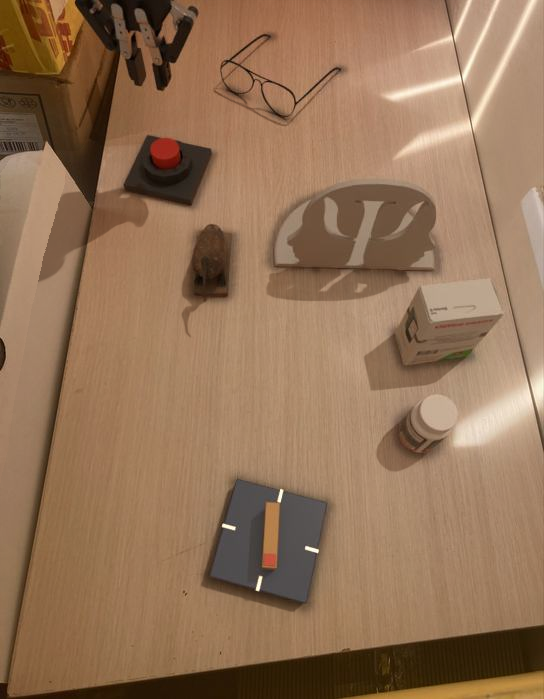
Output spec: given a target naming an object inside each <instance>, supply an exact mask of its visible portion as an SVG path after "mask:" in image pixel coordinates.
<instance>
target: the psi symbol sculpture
mask: <svg viewBox="0 0 544 699" xmlns="http://www.w3.org/2000/svg"><path fill="white" fill-rule="evenodd" d="M418 204H421V205H420V206H419V207H418V208H417V211H416V213H415V215H414V217H413V216H412V215H411V214H410V213H409V211H411V209H412V208H413V207H415V206H416V205H418ZM436 221H437V208H436V202H435V200H434V198H433V196H432V195H431V194H430V193H429V192H428V190H426V189H425V188H423V187H422V186H420V185H418V184H415V183H412V182H409V181H405V180H400V179H392V178H391V179H389V178H378V177H377V178H356V179H349V180H345V181H341V182H338V183H335V184H332V185H329V186H328V187H326V188H325V189H323V190H322V191H320V192H318V193H317V194H316V195H314V196H313V197H312V198H310V199H308V200H307V201H305V202H304V203H302V204H300V205H299V206H297V207H296V208H295V209H294V210H293V211H292V212H290V213H289V215H288V216H287V217H286V218H285V219H284V221H283V222H282V224H281V226H280V228H279V229H278V231H277V235H276V237H275V241H274V247H273V263H274V267H289V268H291V267H292V268H293V267H295V268H297V267H298V268H331V269H366V270H368V269H370V270H396V271H409V270H410V271H411V270H412V271H434V270H435V257H434V250H435V248H436V243H435V241H434V239H433V238H432V236H431V234H430V232H431V231H432V230H433V229H434V228H435V225H436V223H437V222H436Z"/></svg>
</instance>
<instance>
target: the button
mask: <svg viewBox="0 0 544 699" xmlns="http://www.w3.org/2000/svg"><path fill="white" fill-rule="evenodd" d="M160 138H161V139H158V140H156V141H154V142H153V143H152V145H151V147H150V152H151V156H152V160H153V163H154V165H155V166H156V167H158V168H160V169H164V170H167V169H172V168H175V167H176V166H177V165H178V164H179V163H180V161H181V156H180V150H179V145H178V143H177V142H176V141H175V140H176V139H173V138H171V137H160Z"/></svg>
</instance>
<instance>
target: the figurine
mask: <svg viewBox="0 0 544 699" xmlns="http://www.w3.org/2000/svg"><path fill="white" fill-rule="evenodd" d="M231 245H232V233H231V232H224V231H223V230H222V229H221V227H220V226H219V225H218V224H214V223H209V224H207V225H206V226H205V227H204V228H203V230H199V231H198V237H197V241H196V243H195V245H194V247H193V250H192V258H191V259H192V260H191V261H192V270H193V273H194V279H193V284H194V285H193V291H192V292H193V293H192V294H193V296H203V302H206V297H207V296H208V297H209V296H210V297H213V296H214V297H228V296H229V282H230V281H229V280H230V278H229V277H230V264H231Z"/></svg>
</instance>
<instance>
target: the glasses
mask: <svg viewBox="0 0 544 699" xmlns="http://www.w3.org/2000/svg"><path fill="white" fill-rule="evenodd" d="M264 37H268V38H271V37H272V36H271V34H267V33H262V34H260V35H259V36H257V37H256V38H254V39H253V40H251V41H250V42H249V43H247V44H246V45H245V46H244V47H242V48H241V49H240V50H238V51H237V52H236V53H235V54H233V56H231V57H230V58H229V59H224V60H223V61H222V62H221V63H220V67H219V68H220V69H219V72H220V77H221V80H222V83H223V84H224V86H225V87H226V88H227V90H229V91H230V92H231V93H232V94H236V95H244V94H247V93H249V92H250V91H251V90H252V89H253V88H254V87H255V86H254V85H255V82H256V81H257V82H259V85H260V92H261V95H262V96H261V97H262V98H263V101H264V102H265V104H266V105H267V106H268V107H269V109H270V110H271V111H272V112H273V113H274V114H275V115H277V116H279V117H281V118H287V117H290V116H292V114H293V113H294V112H295V108H296V106H297V105H298V104H299V103H300V102H301V101H302V100H304V99H305V98H306V97H307V96H308V95H309V94H311V92H312V91H313V90H314V89H316V87H318V86H319V85H320V84H321V83H322V82H324V80H325V79H326V78H327V77H329V76H330V75H331V74H332V73H333V72H335V71H338V70H339V71H341V70H342V68H341V67H338V66H335V67H334V68H332V69H331V70H330V71H328V72H327V73H326V74H325V75H323V77H321V79H319V80H318V81H317V82H316V83H315V84H314V85H313V86H312V87H311V88H310V89H309V90H308V91H307V92H306V93H305V94H304V95H303V96H302V97H300V98H299V99H298V100H296V95H295V93H294V92H293V91H292V90H291V89H290V88H288V87H287V86H285V85H284V84H281V83H278V82H276V81H274V80H271V79H268V78H266V77H264V76H261V75H259V74H258V73H255V72H254V71H252V70H250V69H248V68H246V67H245V66H243V65H241V64H240V63H238V62H236V61H233V60H234V59H235V58H236V57H238V56H239V55H240V54H242V53H243V52H244V51H246V50H247V49H248V48H249V47H250V46H251V45H253V44H254V43H256V42H257V41H258V40H260V39H262V38H264ZM228 63H229V64H233V65H235V66H238V67H239V68H241V69H243V70H244V71H245V72H246V73H247V74H248V75H249V76H250V78H251V80H252V82H251V87H250V88H249V89H248V90H247V91H245V92H238V91H237V92H236V91H234V90H233V89H231V88H230V87H229V86H228V85H227V84H226V82H225V80H224V78H223V72H222V70H223V68H224V67H225V66H226V65H227V64H228ZM253 75H254V76H256V77H259V78H261V79H263V80H264V81H263V82H262V81H261V80H260V79H258V78H255V77H254V76H253ZM265 83H269V84H274V85H276V86H279V87H280V88H282V89H283V90H285V91H287V92H289V94H290V95H291V96H292V99H293V104H294V105H293V109H292V111H291V113H290V114H288V115H283V114H280V113H278V112H277V111H276V110H275V109H274V108H273V107H272V106H271V105H270V104H269V101H268V100H267V98H266V95H265V94H264V88H263V85H264V84H265Z"/></svg>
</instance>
